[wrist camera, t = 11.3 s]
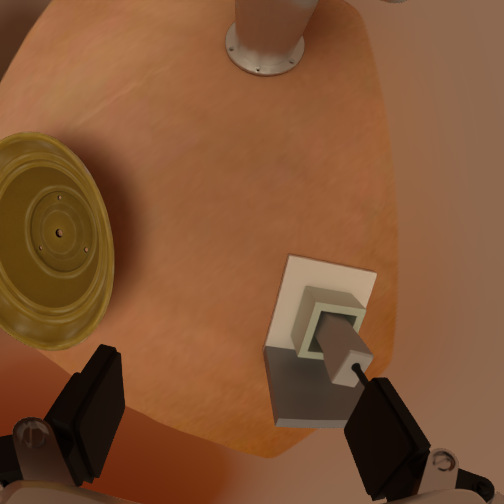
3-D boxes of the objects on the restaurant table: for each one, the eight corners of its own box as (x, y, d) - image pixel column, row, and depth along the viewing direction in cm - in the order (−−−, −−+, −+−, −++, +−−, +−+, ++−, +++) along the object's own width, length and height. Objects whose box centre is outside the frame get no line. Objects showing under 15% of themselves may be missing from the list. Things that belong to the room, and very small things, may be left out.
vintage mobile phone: (303, 323, 49) (351, 429, 25) (316, 297, 48) (378, 394, 24) (322, 328, 50) (378, 431, 26) (335, 304, 49) (404, 397, 25)
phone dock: (288, 253, 47) (320, 301, 29) (374, 271, 49) (436, 317, 30) (262, 349, 52) (275, 426, 33) (342, 358, 53) (380, 425, 35)
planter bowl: (163, 154, 43) (136, 146, 30) (132, 336, 50) (107, 379, 37) (16, 132, 39) (-30, 127, 26) (4, 288, 46) (-35, 312, 33)
